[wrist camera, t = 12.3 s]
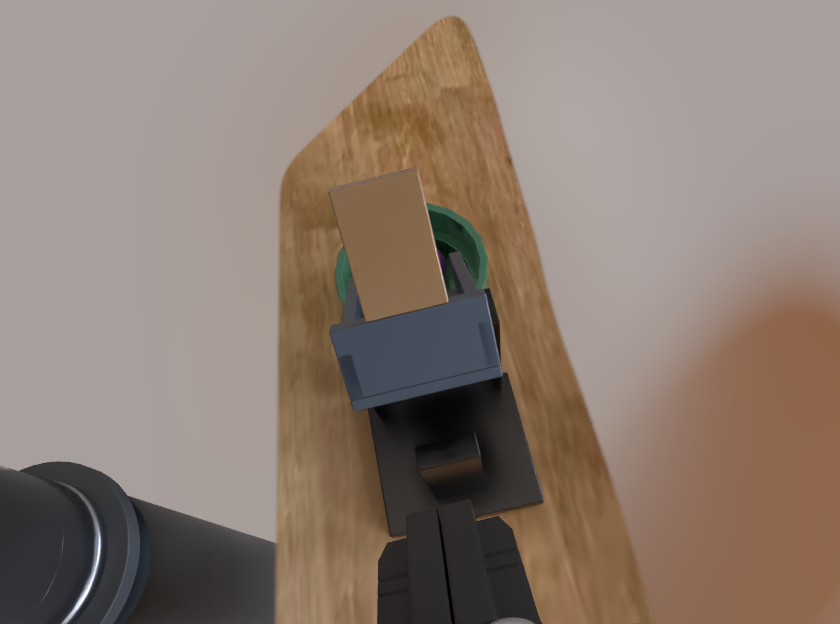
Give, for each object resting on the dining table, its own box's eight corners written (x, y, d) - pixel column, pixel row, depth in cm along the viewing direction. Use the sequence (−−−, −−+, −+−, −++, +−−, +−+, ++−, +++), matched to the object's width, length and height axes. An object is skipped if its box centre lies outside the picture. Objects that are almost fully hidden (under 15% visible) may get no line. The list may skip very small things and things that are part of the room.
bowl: (458, 387, 40) (452, 357, 35) (330, 340, 42) (309, 307, 38) (509, 265, 43) (509, 225, 39) (387, 229, 46) (374, 187, 41)
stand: (543, 503, 36) (555, 463, 27) (392, 538, 36) (351, 511, 27) (503, 362, 40) (501, 284, 31) (367, 394, 40) (324, 327, 31)
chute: (503, 376, 24) (458, 159, 21) (353, 412, 24) (288, 201, 21) (468, 294, 34) (433, 135, 31) (360, 320, 34) (315, 164, 31)
